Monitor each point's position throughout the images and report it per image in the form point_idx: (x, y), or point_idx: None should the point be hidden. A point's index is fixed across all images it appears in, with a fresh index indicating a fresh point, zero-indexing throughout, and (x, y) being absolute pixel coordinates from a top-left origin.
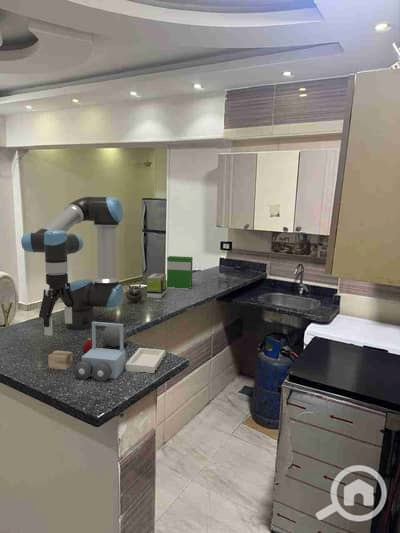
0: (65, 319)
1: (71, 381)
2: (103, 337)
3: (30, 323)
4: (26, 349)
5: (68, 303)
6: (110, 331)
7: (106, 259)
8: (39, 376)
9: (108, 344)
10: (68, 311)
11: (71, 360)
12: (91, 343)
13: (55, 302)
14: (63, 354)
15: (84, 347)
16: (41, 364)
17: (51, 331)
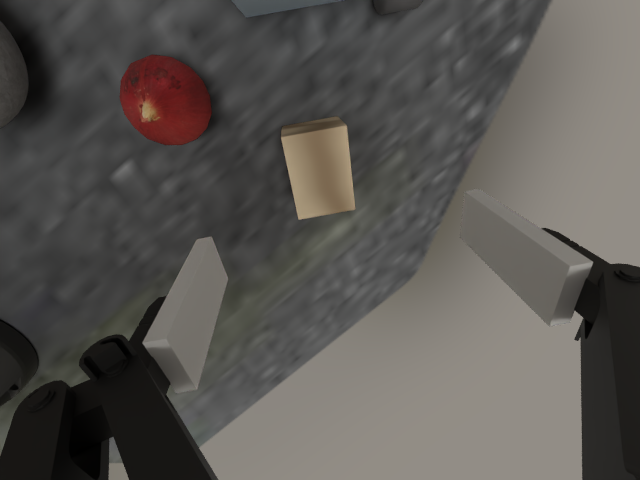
0: (221, 292)
1: (427, 8)
2: (10, 103)
3: None
4: (258, 340)
5: (167, 401)
6: None
7: None
8: (413, 170)
9: (24, 62)
10: (191, 322)
11: (290, 128)
12: (164, 80)
13: (620, 448)
14: (322, 157)
15: (203, 114)
16: (331, 229)
17: (495, 200)
